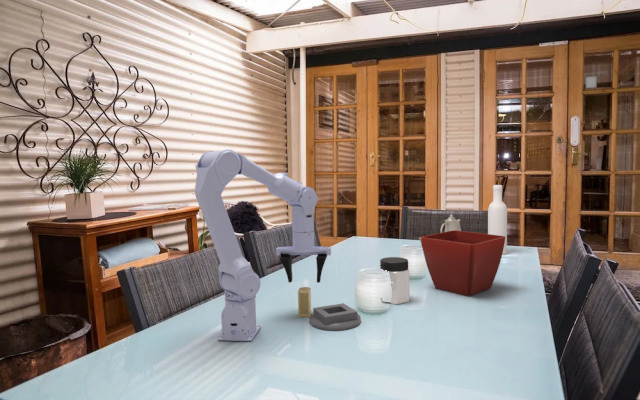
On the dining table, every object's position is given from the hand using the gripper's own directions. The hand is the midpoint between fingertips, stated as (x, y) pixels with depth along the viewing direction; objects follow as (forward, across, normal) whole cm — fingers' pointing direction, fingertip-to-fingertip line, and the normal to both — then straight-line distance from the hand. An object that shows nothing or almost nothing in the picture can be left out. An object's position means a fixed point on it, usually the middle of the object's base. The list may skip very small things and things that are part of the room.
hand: (304, 281), depth 119 cm
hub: (+9, -8, +5) cm, 13 cm away
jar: (+9, -24, -14) cm, 30 cm away
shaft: (+9, 0, 0) cm, 9 cm away
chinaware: (+10, -53, -98) cm, 112 cm away
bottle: (+9, -72, -84) cm, 111 cm away
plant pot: (+9, -46, -27) cm, 55 cm away
